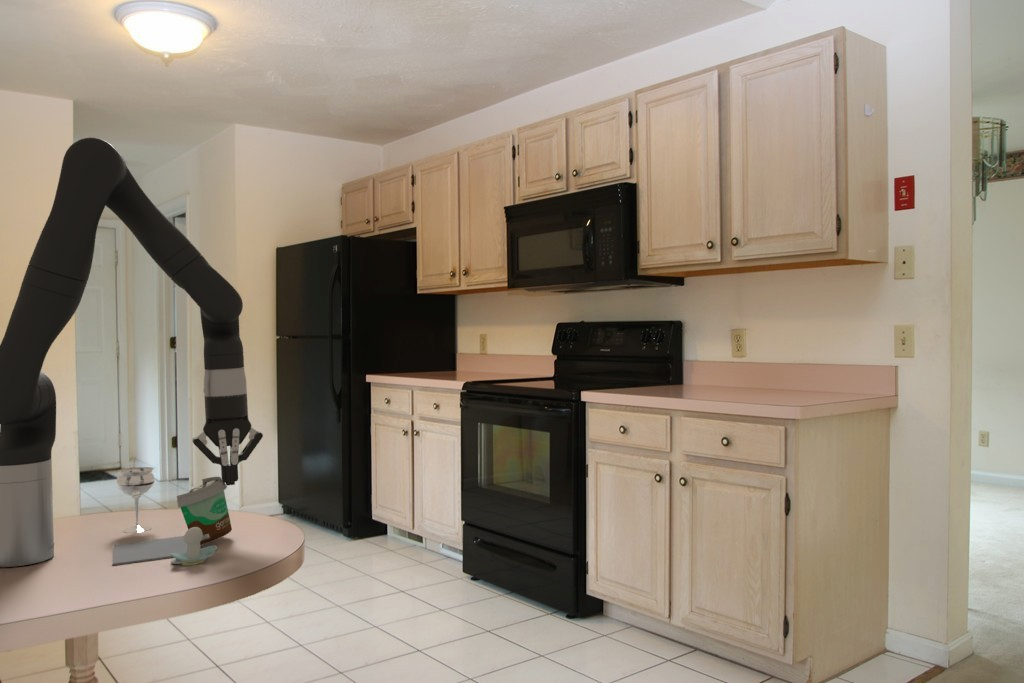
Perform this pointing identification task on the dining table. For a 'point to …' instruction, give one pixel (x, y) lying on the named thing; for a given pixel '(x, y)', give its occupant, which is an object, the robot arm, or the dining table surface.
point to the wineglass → (136, 488)
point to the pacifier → (193, 549)
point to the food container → (207, 509)
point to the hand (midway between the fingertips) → (230, 484)
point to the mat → (148, 550)
